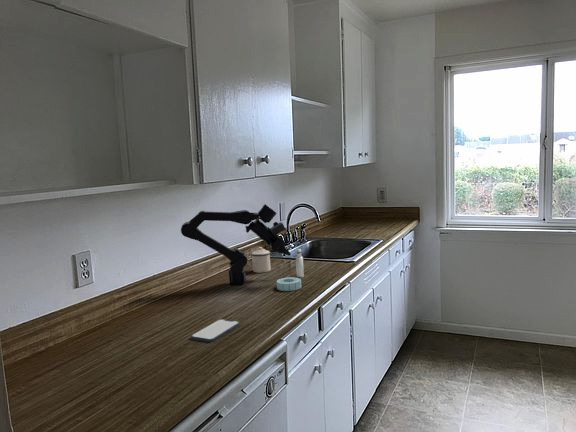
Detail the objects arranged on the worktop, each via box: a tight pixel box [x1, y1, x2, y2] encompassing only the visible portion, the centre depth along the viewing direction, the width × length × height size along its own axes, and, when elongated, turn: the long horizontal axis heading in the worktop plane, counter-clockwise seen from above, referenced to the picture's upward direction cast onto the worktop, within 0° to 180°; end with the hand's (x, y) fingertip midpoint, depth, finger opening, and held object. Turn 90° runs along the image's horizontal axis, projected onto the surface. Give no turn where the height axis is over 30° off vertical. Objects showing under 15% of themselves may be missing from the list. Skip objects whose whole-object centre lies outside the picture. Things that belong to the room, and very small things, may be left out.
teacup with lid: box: [246, 246, 271, 274], centre depth 232 cm, size 12×9×12 cm
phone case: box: [190, 318, 241, 343], centre depth 153 cm, size 9×2×16 cm
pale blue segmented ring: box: [276, 276, 302, 292], centre depth 199 cm, size 10×10×3 cm
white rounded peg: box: [295, 248, 305, 278], centre depth 216 cm, size 3×3×12 cm
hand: (288, 252), depth 214 cm, fingers open, 9 cm apart
